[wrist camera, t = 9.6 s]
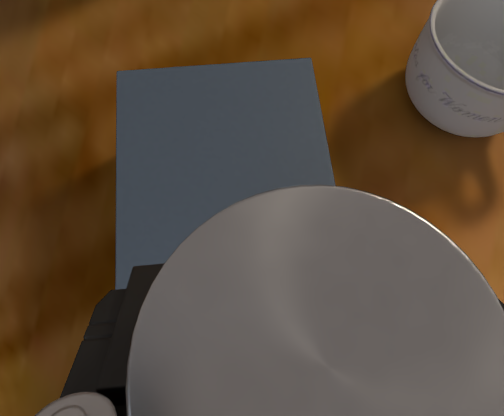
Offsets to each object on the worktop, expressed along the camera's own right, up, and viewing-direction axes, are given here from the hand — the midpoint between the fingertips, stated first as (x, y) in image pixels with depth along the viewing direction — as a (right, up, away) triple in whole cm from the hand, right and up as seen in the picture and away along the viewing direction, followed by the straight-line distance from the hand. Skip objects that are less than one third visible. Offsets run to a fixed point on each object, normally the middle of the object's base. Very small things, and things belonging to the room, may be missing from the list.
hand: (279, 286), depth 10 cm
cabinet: (-2, +1, +23) cm, 23 cm away
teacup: (+18, +10, +27) cm, 34 cm away
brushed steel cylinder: (0, -4, +7) cm, 8 cm away
